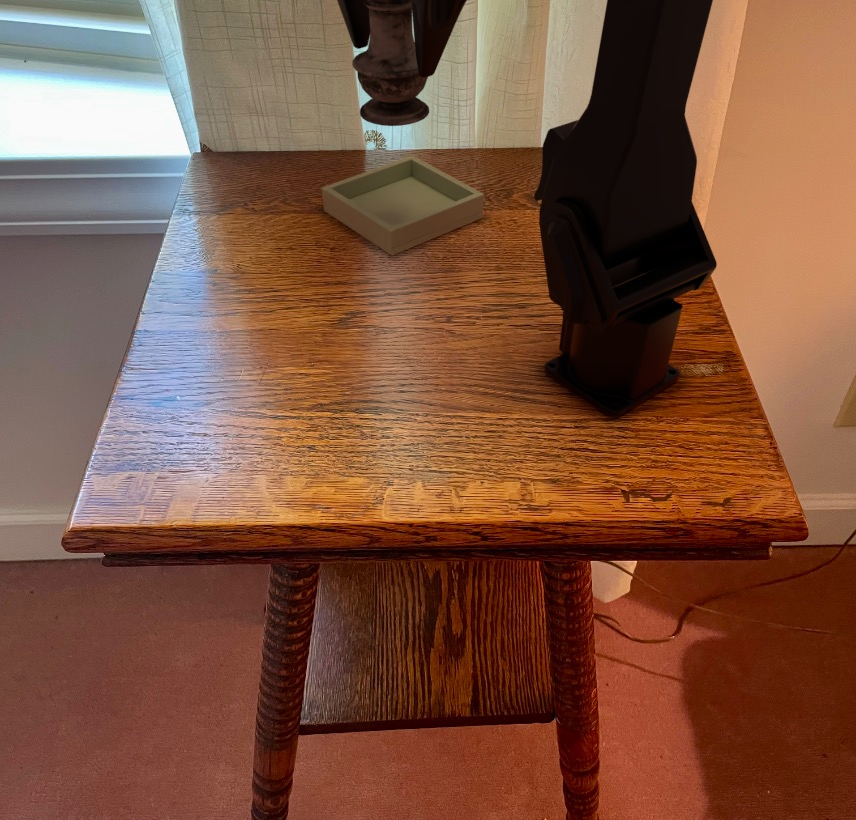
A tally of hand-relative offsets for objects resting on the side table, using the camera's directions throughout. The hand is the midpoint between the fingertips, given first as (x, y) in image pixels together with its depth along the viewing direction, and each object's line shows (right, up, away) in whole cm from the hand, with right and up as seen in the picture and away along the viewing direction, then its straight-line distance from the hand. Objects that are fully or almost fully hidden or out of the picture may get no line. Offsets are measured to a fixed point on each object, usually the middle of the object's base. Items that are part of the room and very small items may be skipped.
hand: (392, 61), depth 60 cm
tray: (0, -7, +10) cm, 13 cm away
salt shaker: (0, -3, +3) cm, 4 cm away
